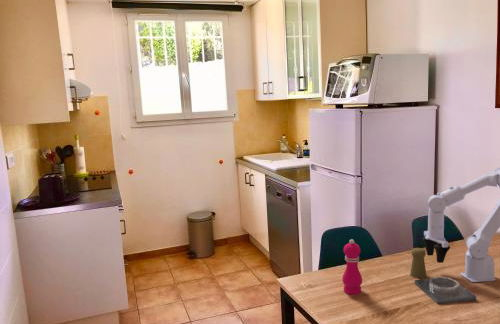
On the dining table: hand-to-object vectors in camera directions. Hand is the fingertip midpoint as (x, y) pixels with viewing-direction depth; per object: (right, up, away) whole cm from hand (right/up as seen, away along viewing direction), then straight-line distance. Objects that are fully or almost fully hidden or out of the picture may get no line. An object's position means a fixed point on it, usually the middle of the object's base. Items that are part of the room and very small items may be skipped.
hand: (435, 258), depth 159 cm
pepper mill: (-36, -10, -11) cm, 39 cm away
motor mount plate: (-3, -9, -14) cm, 17 cm away
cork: (-7, -7, 0) cm, 10 cm away
